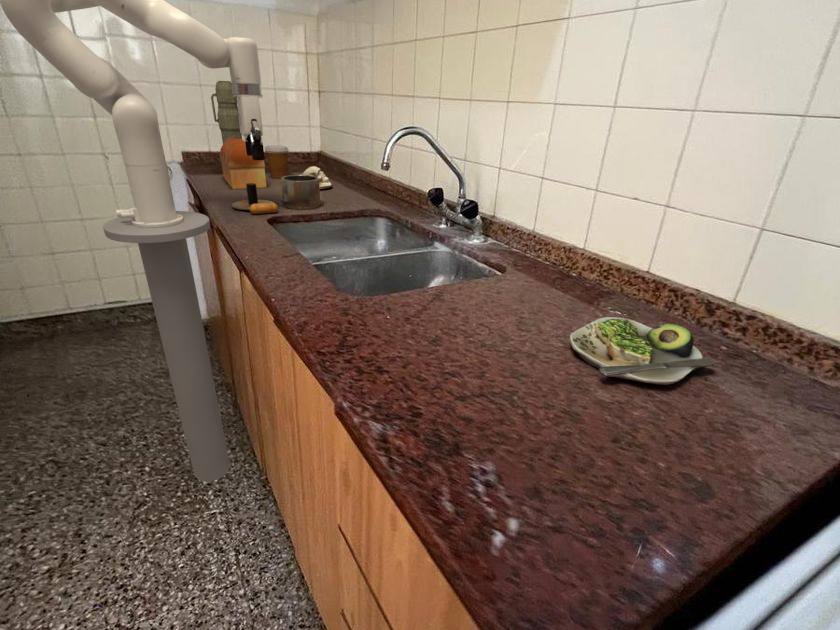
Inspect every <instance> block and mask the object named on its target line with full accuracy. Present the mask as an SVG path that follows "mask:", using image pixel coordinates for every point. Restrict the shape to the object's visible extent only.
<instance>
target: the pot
mask: <svg viewBox="0 0 840 630" xmlns="http://www.w3.org/2000/svg"><path fill="white" fill-rule="evenodd" d="M280 183H281V191H282V192H281V193H282V203H283V206H284V207H285V208H288V209H291V210H310V209H311V210H312V209H316V208H320V206H321V189H320V186H319V178H318V177H315V176H309V175H303V174H293V175H291V174H290V175H287V176H284V177H282V178H280Z"/></svg>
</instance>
